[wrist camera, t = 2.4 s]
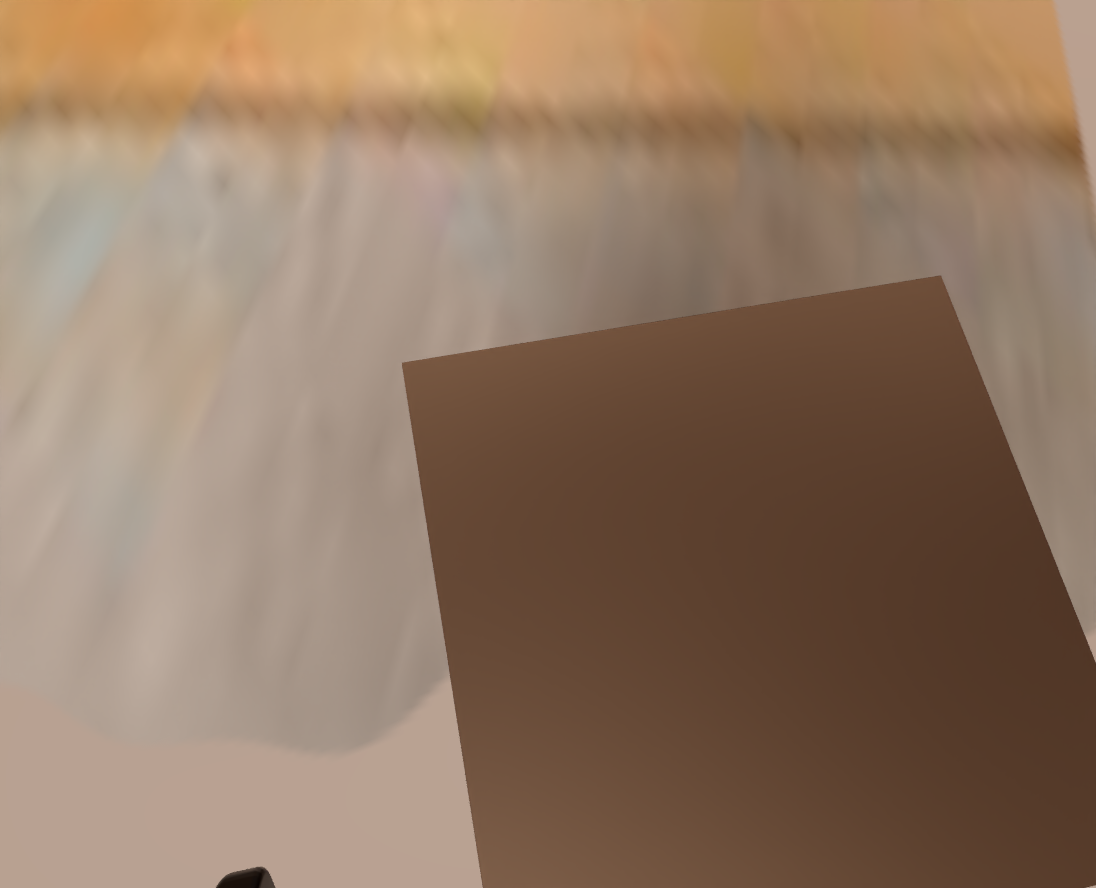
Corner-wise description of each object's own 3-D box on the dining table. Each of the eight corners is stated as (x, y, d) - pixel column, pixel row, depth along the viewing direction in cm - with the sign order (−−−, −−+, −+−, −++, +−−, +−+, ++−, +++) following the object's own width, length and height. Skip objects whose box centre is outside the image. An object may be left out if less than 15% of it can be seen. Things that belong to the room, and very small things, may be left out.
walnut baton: (689, 760, 18) (1176, 865, 5) (511, 799, 18) (503, 1032, 4) (647, 583, 19) (940, 275, 6) (480, 615, 19) (401, 362, 6)
